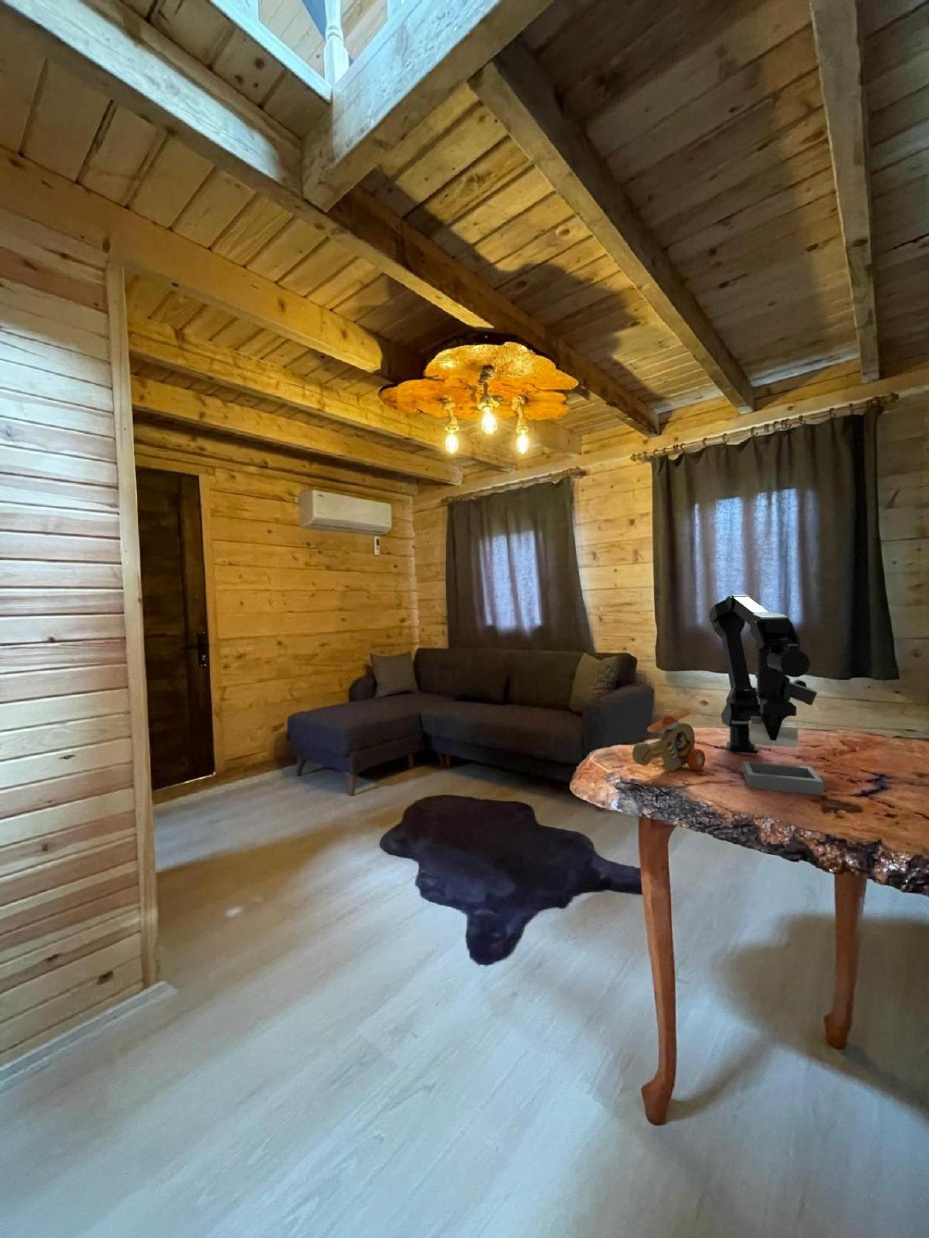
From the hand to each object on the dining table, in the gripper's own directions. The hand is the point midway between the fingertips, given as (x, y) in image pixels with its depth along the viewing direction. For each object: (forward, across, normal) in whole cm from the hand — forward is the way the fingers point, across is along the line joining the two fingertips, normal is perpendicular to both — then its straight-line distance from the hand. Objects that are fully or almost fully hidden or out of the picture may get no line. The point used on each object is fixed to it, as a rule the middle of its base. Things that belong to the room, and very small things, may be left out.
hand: (771, 737), depth 116 cm
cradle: (+7, -10, 0) cm, 12 cm away
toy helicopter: (+7, -9, +22) cm, 25 cm away
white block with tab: (+1, 0, 0) cm, 1 cm away
